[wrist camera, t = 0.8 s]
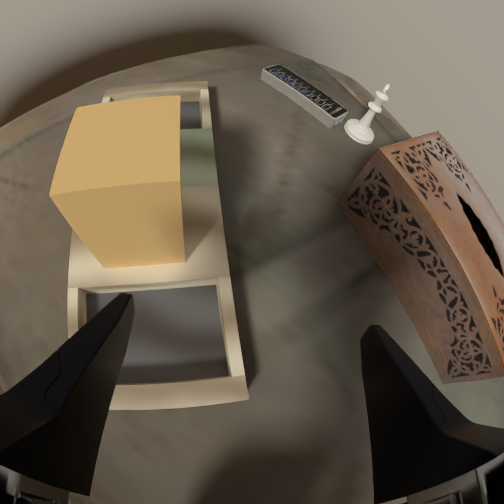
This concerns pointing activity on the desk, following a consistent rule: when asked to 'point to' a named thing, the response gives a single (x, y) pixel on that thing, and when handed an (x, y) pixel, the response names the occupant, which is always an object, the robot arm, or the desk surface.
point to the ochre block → (124, 181)
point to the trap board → (172, 285)
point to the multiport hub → (305, 95)
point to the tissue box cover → (436, 251)
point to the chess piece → (366, 120)
